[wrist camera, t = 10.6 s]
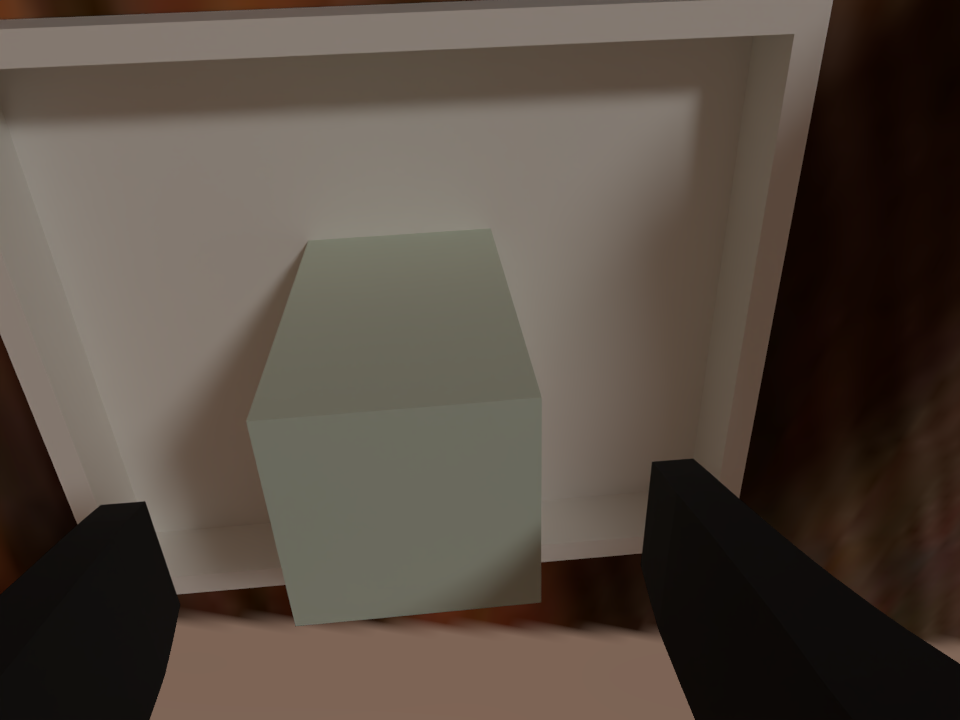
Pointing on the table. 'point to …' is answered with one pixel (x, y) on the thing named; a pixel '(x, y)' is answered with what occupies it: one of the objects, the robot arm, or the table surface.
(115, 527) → the robot arm
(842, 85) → the table surface
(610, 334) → the serving tray
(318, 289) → the sage block
